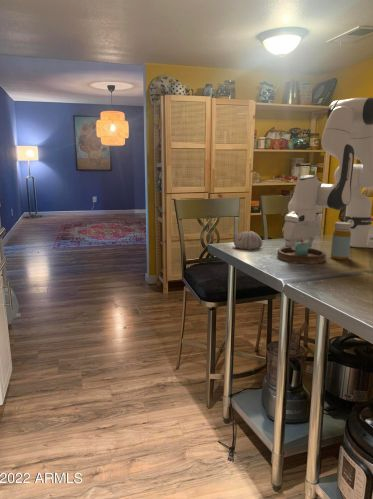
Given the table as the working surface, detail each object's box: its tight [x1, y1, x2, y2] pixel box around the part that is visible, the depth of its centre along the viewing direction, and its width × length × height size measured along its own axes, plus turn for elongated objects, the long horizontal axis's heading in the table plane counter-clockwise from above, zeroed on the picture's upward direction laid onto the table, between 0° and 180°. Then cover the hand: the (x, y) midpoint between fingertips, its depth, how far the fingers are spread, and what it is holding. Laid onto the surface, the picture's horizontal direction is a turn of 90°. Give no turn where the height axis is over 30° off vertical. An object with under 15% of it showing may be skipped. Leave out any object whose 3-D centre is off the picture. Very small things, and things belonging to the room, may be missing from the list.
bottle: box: [330, 221, 351, 261], centre depth 159 cm, size 7×7×15 cm
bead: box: [295, 241, 309, 256], centre depth 159 cm, size 5×5×6 cm
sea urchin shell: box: [233, 230, 264, 251], centre depth 178 cm, size 13×14×8 cm
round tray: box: [276, 246, 327, 265], centre depth 160 cm, size 19×19×3 cm
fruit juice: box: [284, 186, 307, 247], centre depth 182 cm, size 9×9×28 cm
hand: (301, 248), depth 159 cm, fingers open, 8 cm apart
